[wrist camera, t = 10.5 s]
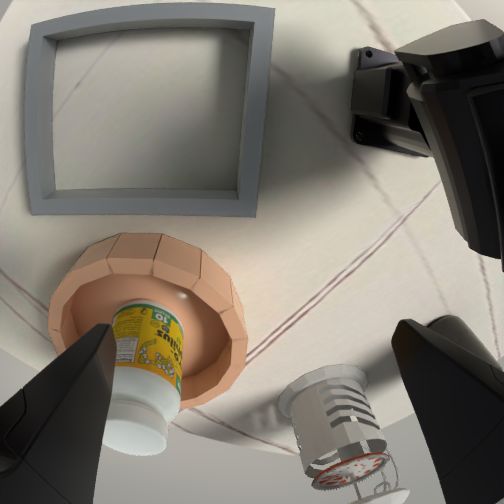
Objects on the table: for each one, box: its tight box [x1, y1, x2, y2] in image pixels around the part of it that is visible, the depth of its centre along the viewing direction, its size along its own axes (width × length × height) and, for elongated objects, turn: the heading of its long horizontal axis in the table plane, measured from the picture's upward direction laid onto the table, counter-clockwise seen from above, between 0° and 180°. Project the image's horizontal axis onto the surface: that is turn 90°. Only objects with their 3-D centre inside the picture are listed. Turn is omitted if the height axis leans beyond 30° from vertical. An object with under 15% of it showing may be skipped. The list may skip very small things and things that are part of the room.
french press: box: [278, 364, 410, 504], centre depth 19 cm, size 10×12×25 cm
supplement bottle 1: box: [102, 299, 184, 456], centre depth 17 cm, size 5×5×10 cm
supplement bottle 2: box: [428, 316, 503, 371], centre depth 23 cm, size 7×7×12 cm
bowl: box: [47, 233, 248, 409], centre depth 21 cm, size 14×14×4 cm
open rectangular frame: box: [24, 2, 275, 218], centre depth 15 cm, size 14×12×2 cm
